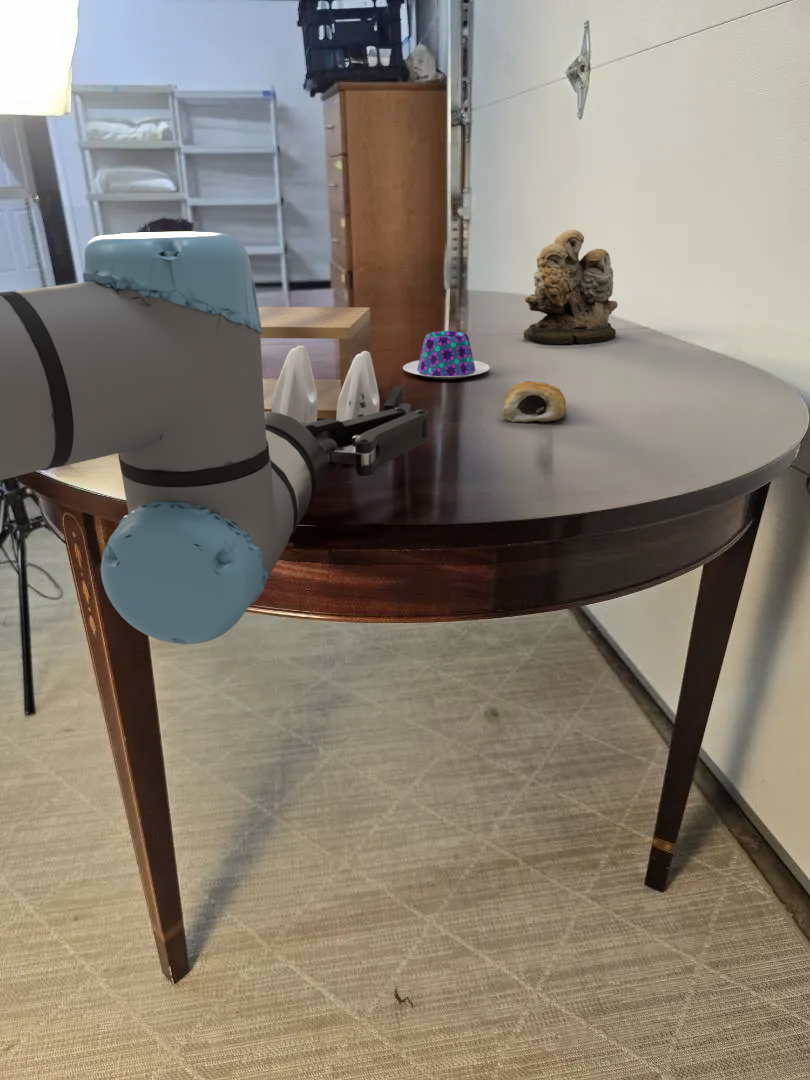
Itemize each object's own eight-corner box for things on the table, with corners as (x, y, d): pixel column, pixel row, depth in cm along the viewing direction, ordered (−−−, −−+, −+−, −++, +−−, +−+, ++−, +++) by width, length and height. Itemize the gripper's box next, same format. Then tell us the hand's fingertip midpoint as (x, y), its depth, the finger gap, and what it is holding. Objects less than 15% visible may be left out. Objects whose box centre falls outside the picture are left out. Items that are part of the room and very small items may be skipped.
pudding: (452, 360, 115) (452, 323, 112) (507, 374, 106) (509, 335, 104) (385, 371, 108) (385, 332, 106) (439, 386, 99) (439, 345, 97)
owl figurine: (548, 349, 122) (556, 233, 115) (503, 338, 131) (508, 230, 124) (632, 338, 130) (644, 229, 123) (584, 328, 139) (592, 226, 132)
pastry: (509, 401, 92) (511, 369, 91) (566, 404, 91) (569, 371, 89) (501, 422, 84) (503, 387, 82) (564, 426, 83) (567, 391, 81)
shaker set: (277, 484, 67) (267, 356, 62) (256, 472, 70) (244, 348, 66) (390, 457, 73) (388, 339, 69) (366, 447, 77) (362, 333, 72)
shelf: (145, 415, 88) (131, 325, 84) (192, 384, 102) (182, 306, 98) (352, 419, 86) (349, 327, 82) (372, 387, 99) (370, 307, 95)
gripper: (87, 526, 54) (195, 437, 73) (446, 539, 51) (460, 443, 70) (67, 421, 50) (185, 356, 70) (448, 429, 48) (462, 360, 67)
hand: (323, 400), depth 70 cm, fingers open, 13 cm apart
